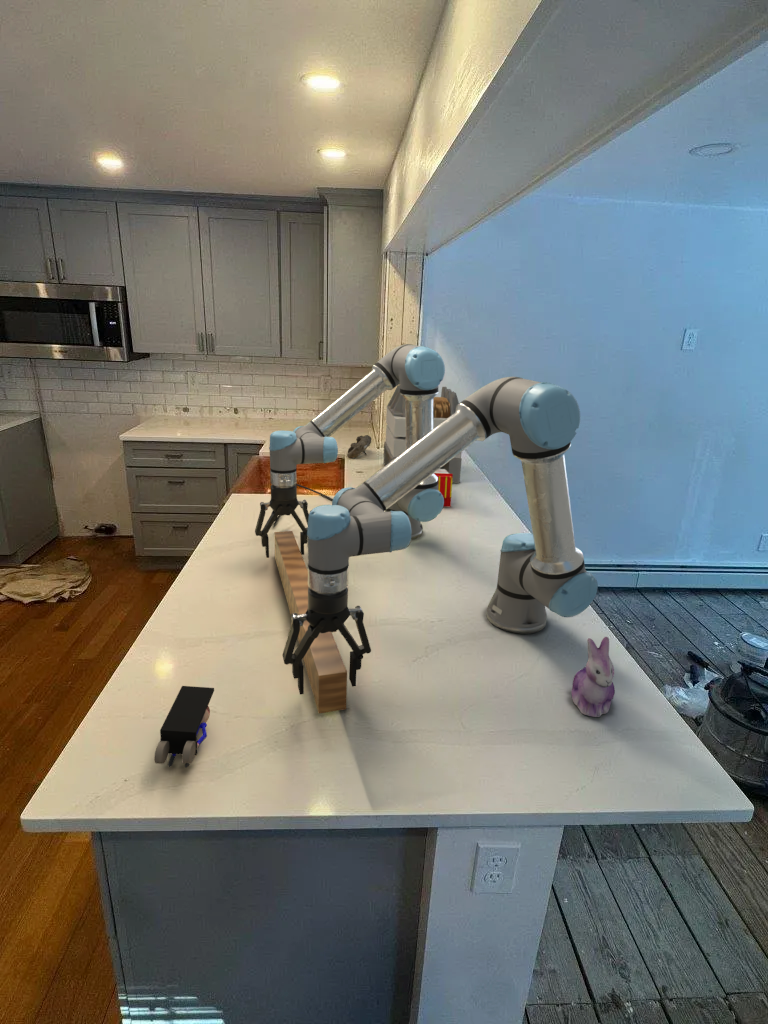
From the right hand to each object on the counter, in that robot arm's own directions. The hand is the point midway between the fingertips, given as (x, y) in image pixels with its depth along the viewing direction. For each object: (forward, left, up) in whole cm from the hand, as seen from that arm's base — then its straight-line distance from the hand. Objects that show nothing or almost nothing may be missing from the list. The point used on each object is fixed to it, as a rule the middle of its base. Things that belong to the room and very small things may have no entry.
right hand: (327, 686), depth 114 cm
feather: (-74, -77, -3) cm, 107 cm away
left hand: (-44, -49, 0) cm, 66 cm away
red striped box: (-132, -41, -3) cm, 139 cm away
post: (-22, -24, -3) cm, 33 cm away
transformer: (-160, -64, -3) cm, 172 cm away
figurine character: (+24, -12, -3) cm, 27 cm away
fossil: (-171, -107, -3) cm, 202 cm away
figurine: (-29, +46, -3) cm, 55 cm away
